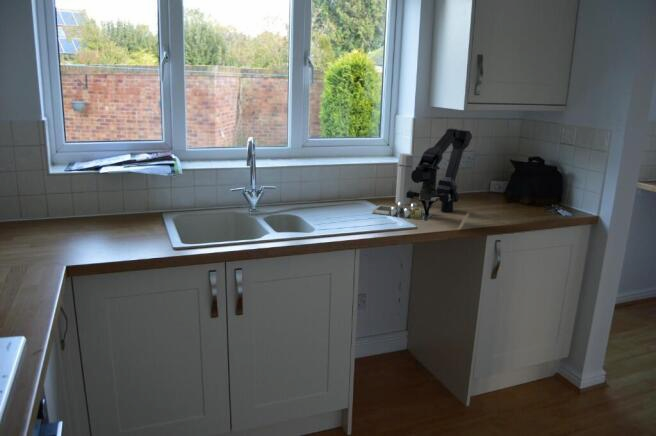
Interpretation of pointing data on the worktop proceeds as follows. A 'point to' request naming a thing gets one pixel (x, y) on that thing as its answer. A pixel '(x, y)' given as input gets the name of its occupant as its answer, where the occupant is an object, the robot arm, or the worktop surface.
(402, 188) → the water bottle
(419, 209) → the hex nut
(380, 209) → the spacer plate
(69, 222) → the worktop surface
